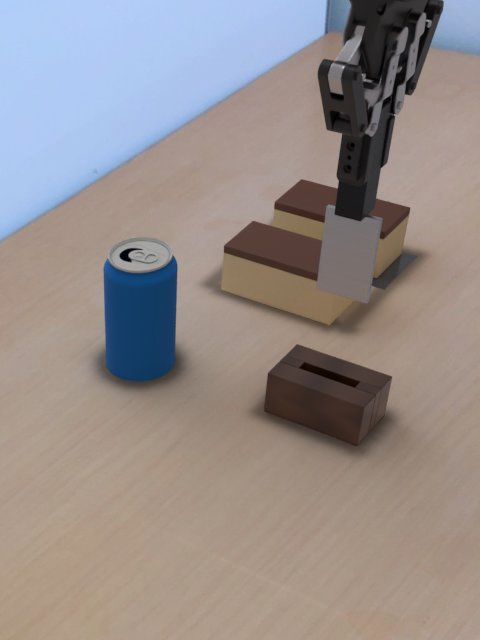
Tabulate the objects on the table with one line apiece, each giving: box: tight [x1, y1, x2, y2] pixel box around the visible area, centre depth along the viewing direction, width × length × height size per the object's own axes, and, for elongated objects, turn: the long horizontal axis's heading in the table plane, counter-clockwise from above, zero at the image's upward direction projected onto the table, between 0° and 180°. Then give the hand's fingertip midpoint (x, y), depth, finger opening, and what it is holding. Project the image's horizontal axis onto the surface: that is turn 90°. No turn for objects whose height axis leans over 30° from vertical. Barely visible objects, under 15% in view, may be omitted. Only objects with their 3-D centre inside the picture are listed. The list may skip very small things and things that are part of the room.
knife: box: [316, 99, 392, 305], centre depth 82 cm, size 4×2×15 cm, turn 50°
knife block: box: [263, 343, 393, 447], centre depth 95 cm, size 9×5×5 cm, turn 50°
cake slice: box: [220, 220, 355, 326], centre depth 107 cm, size 12×5×5 cm, turn 50°
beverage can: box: [103, 236, 179, 382], centre depth 100 cm, size 6×6×12 cm
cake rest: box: [271, 178, 411, 278], centre depth 111 cm, size 12×5×5 cm, turn 50°
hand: (361, 172), depth 80 cm, fingers closed on knife, 2 cm apart
